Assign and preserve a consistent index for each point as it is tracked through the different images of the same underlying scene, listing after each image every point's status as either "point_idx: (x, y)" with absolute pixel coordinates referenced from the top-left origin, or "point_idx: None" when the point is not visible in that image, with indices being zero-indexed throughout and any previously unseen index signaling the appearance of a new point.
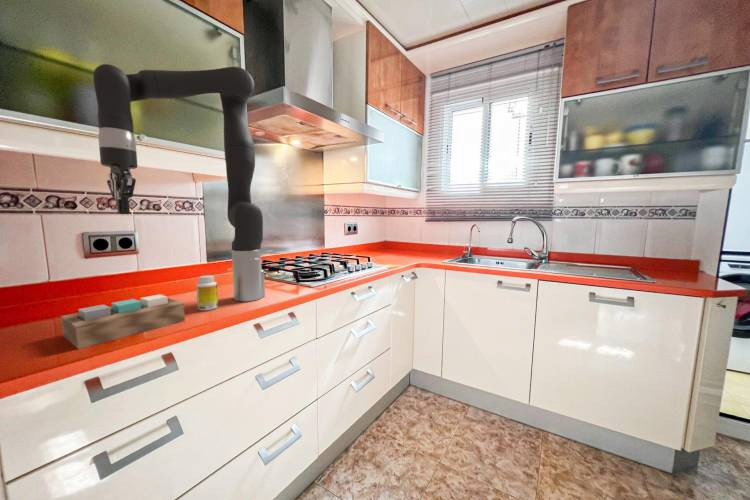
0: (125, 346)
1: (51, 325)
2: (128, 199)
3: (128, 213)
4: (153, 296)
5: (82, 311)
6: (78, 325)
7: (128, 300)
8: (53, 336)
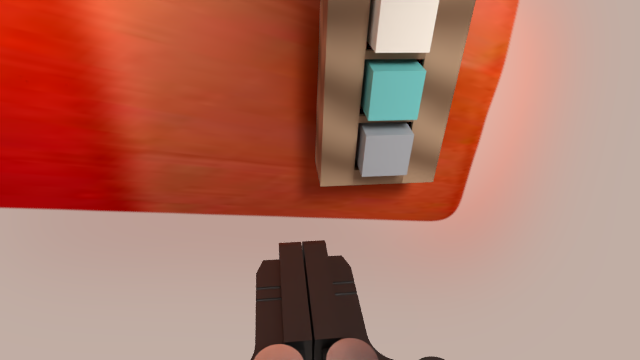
0: (484, 107)
1: (198, 162)
2: (365, 350)
3: (325, 244)
4: (393, 20)
5: (392, 175)
6: (429, 178)
7: (380, 86)
8: (295, 170)
